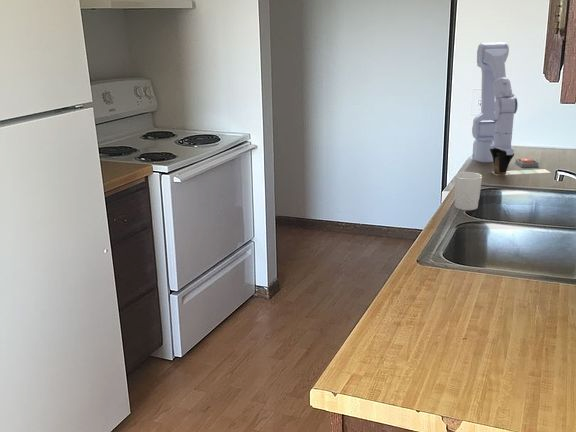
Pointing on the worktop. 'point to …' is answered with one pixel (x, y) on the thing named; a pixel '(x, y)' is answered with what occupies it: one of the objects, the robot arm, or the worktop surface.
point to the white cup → (467, 190)
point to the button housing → (518, 162)
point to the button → (527, 160)
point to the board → (525, 172)
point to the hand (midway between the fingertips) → (500, 170)
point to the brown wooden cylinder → (497, 167)
